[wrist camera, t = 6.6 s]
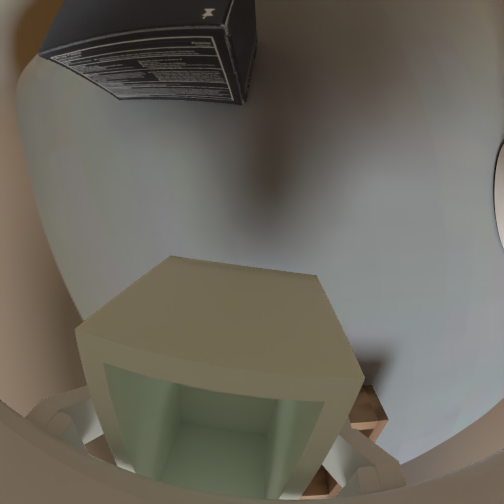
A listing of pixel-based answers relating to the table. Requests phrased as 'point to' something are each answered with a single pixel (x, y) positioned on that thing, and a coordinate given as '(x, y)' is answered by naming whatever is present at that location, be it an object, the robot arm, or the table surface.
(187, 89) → the small box
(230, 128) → the table surface
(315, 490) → the walnut crate
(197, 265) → the sage crate
